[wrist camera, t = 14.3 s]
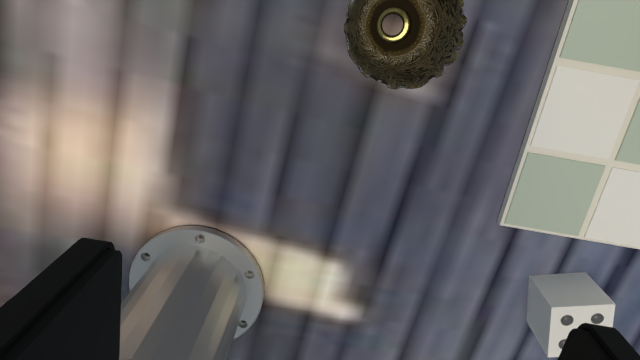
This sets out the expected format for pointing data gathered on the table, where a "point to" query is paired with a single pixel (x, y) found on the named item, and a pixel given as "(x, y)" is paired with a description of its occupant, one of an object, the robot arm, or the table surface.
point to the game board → (584, 132)
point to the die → (565, 307)
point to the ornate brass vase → (404, 39)
